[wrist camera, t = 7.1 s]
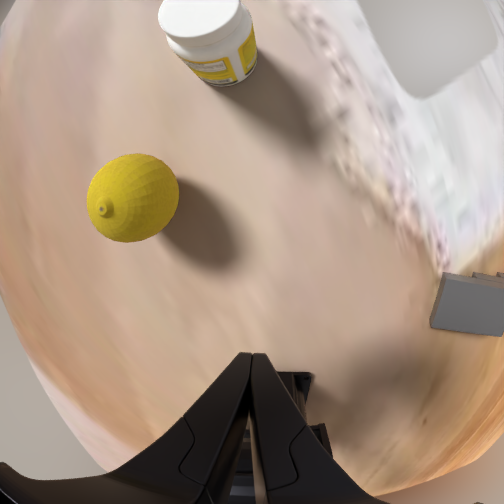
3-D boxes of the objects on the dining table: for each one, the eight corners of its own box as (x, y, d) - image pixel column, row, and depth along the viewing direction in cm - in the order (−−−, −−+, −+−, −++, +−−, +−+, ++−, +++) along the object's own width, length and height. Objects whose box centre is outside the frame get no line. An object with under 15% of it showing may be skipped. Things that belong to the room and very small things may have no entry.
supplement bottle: (235, 25, 15) (217, -37, 7) (270, 66, 16) (270, 10, 8) (182, 56, 16) (136, 9, 8) (213, 99, 17) (177, 62, 9)
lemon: (136, 230, 21) (79, 266, 13) (121, 164, 19) (55, 172, 12) (199, 217, 20) (160, 251, 13) (184, 145, 19) (134, 139, 11)
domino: (443, 272, 20) (513, 285, 17) (429, 318, 22) (497, 328, 18) (446, 278, 19) (519, 291, 15) (431, 327, 21) (501, 336, 17)
